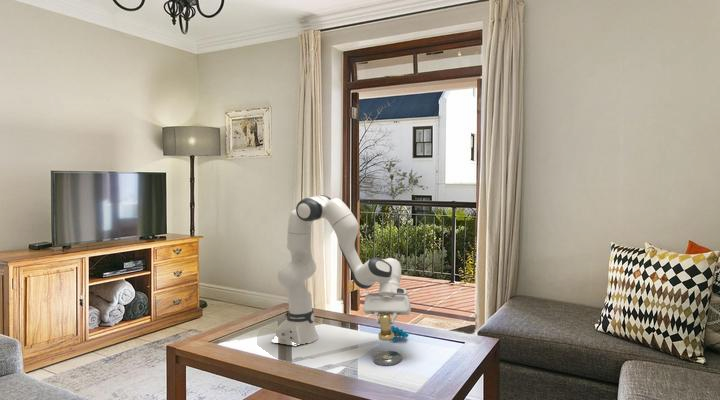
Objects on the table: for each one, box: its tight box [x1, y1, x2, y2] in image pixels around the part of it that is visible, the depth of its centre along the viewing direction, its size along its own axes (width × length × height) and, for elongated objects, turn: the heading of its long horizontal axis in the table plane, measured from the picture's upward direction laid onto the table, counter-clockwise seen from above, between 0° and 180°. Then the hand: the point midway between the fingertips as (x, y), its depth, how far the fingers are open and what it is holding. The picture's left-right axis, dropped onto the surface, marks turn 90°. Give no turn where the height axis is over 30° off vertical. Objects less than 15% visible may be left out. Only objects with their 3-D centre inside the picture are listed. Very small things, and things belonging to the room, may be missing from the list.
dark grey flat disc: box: [372, 350, 403, 367], centre depth 188 cm, size 12×12×1 cm
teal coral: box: [391, 325, 410, 343], centre depth 207 cm, size 11×6×10 cm
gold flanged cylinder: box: [378, 314, 395, 341], centre depth 187 cm, size 6×6×10 cm
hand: (384, 323), depth 186 cm, fingers closed on gold flanged cylinder, 4 cm apart
